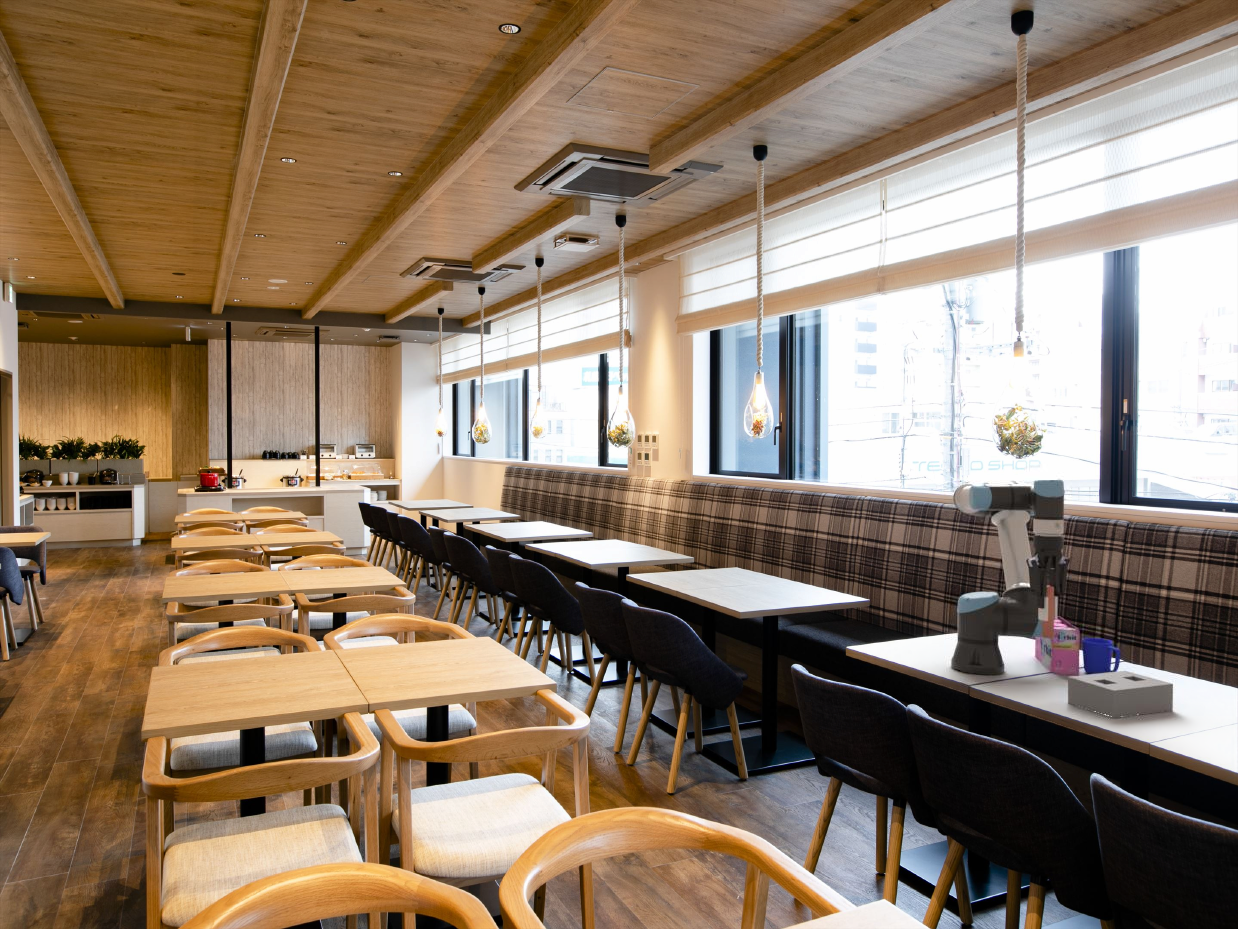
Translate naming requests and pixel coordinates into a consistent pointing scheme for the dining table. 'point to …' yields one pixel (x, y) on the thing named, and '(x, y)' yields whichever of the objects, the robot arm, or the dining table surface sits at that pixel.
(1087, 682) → the hole block
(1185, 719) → the dining table surface
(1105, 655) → the mug
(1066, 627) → the gum box
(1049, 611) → the pin
